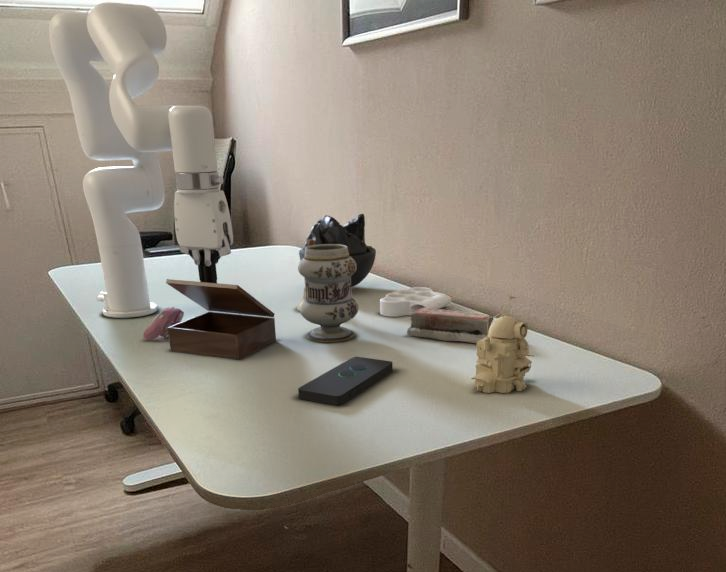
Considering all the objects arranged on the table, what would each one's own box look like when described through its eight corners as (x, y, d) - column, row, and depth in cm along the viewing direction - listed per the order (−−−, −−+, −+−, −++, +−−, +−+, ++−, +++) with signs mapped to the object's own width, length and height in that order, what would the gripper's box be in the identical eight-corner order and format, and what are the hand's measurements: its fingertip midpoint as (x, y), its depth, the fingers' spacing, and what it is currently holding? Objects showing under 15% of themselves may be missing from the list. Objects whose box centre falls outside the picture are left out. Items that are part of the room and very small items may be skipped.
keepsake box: (239, 359, 135) (236, 335, 133) (170, 350, 141) (167, 327, 139) (276, 340, 147) (274, 317, 144) (210, 333, 152) (208, 311, 150)
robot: (507, 400, 114) (515, 306, 107) (465, 389, 118) (470, 299, 112) (540, 383, 121) (549, 294, 114) (498, 374, 125) (505, 287, 119)
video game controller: (159, 349, 147) (169, 320, 144) (140, 338, 147) (149, 309, 144) (180, 336, 156) (190, 308, 152) (161, 326, 156) (171, 298, 152)
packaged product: (405, 313, 146) (423, 303, 154) (405, 336, 148) (422, 325, 156) (491, 321, 139) (505, 310, 146) (489, 346, 141) (503, 333, 149)
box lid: (236, 289, 130) (237, 284, 130) (165, 283, 136) (166, 279, 136) (273, 317, 144) (274, 313, 144) (207, 310, 150) (208, 307, 150)
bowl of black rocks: (292, 296, 182) (288, 219, 174) (310, 280, 200) (307, 209, 191) (369, 298, 179) (368, 219, 171) (381, 282, 197) (381, 209, 188)
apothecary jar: (325, 325, 156) (322, 240, 148) (370, 333, 150) (369, 244, 142) (289, 338, 148) (283, 248, 139) (335, 347, 141) (332, 253, 133)
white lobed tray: (420, 321, 159) (365, 313, 166) (457, 305, 172) (405, 298, 179) (420, 306, 157) (365, 298, 164) (458, 291, 170) (405, 284, 178)
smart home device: (395, 361, 127) (339, 395, 112) (394, 370, 128) (340, 406, 112) (354, 355, 131) (295, 388, 115) (354, 364, 132) (295, 398, 116)
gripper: (244, 181, 129) (252, 284, 138) (176, 180, 135) (188, 279, 143) (221, 185, 123) (231, 292, 132) (150, 183, 129) (165, 287, 137)
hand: (209, 285), depth 137 cm, fingers closed
